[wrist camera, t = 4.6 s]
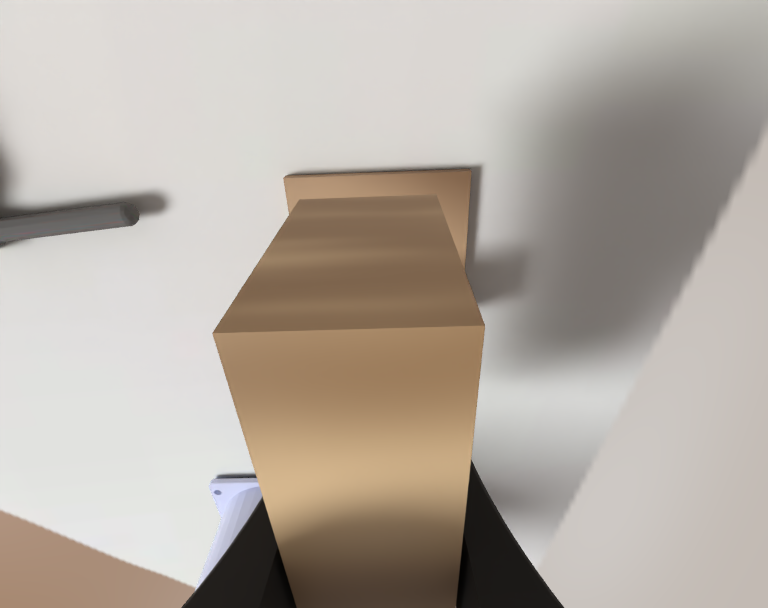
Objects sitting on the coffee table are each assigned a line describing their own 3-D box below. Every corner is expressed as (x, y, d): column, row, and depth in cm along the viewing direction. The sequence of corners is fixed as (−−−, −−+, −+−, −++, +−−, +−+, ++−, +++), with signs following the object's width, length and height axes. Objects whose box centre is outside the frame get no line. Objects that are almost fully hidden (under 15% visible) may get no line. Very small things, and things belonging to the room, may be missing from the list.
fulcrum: (455, 381, 24) (463, 420, 21) (318, 384, 24) (310, 423, 21) (469, 168, 18) (483, 186, 15) (285, 175, 18) (268, 194, 15)
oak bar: (427, 520, 17) (444, 712, 12) (346, 521, 18) (329, 712, 12) (436, 194, 10) (484, 325, 5) (299, 199, 10) (212, 333, 5)
